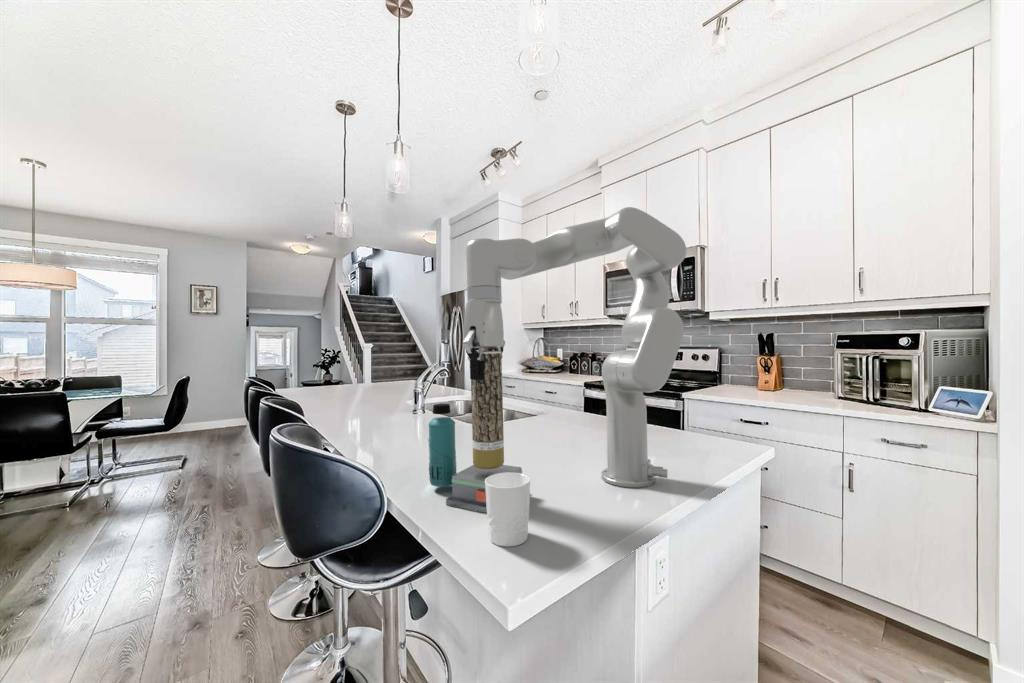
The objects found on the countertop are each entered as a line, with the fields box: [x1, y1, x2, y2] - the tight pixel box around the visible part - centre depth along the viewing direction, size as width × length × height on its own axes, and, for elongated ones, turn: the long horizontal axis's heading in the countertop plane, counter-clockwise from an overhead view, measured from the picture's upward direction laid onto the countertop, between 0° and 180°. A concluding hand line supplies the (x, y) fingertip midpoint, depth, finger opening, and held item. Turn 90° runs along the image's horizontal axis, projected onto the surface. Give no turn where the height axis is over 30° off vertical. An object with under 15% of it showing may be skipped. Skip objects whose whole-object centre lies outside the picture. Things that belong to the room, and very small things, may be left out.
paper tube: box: [470, 350, 505, 469], centre depth 85 cm, size 7×7×25 cm
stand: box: [445, 464, 523, 514], centre depth 85 cm, size 13×13×6 cm
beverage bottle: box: [428, 403, 458, 488], centre depth 92 cm, size 6×7×20 cm
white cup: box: [485, 472, 531, 548], centre depth 67 cm, size 8×8×10 cm
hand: (486, 377), depth 85 cm, fingers closed on paper tube, 6 cm apart
